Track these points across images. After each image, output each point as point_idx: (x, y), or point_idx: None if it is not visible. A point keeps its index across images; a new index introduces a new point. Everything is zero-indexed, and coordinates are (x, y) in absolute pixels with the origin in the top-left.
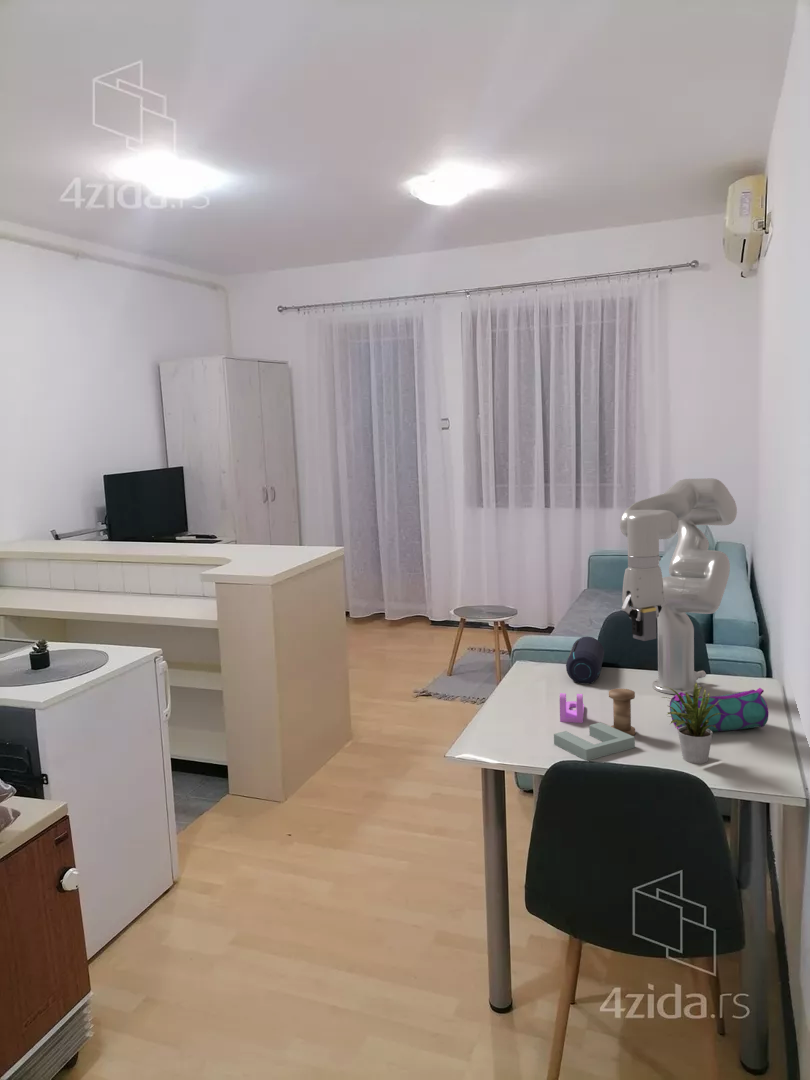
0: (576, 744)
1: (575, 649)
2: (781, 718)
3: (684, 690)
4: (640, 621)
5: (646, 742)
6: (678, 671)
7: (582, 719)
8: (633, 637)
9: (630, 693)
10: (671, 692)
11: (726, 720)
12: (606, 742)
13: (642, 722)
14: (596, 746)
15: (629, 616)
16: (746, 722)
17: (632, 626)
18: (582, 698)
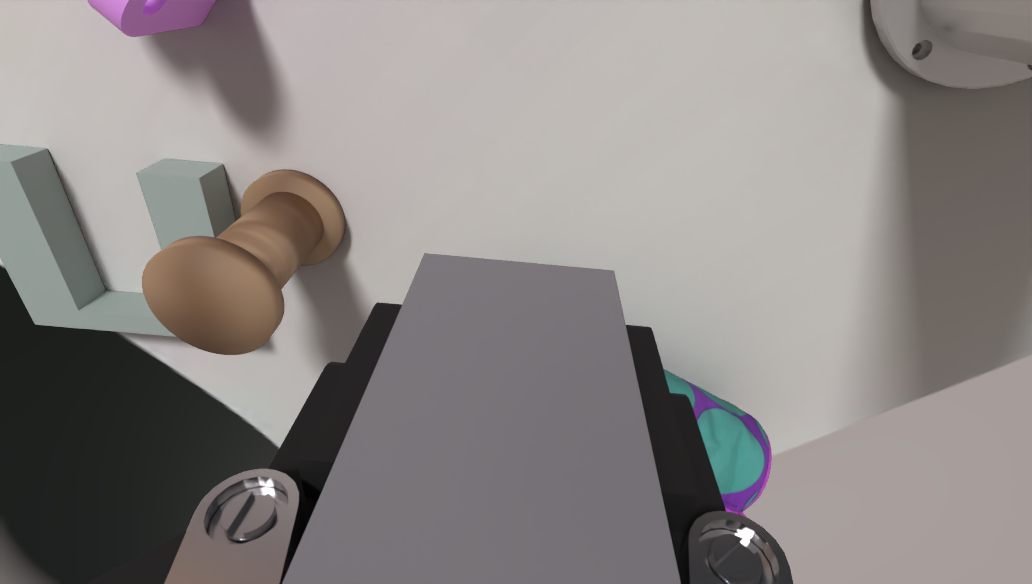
0: (15, 278)
1: None
2: (825, 424)
3: (925, 63)
4: None
5: (319, 315)
6: (1013, 38)
7: (190, 26)
8: (423, 263)
9: (241, 336)
10: (876, 14)
11: None
12: (126, 322)
13: (439, 187)
14: (79, 324)
15: (145, 561)
16: None
17: (305, 411)
18: (137, 12)
